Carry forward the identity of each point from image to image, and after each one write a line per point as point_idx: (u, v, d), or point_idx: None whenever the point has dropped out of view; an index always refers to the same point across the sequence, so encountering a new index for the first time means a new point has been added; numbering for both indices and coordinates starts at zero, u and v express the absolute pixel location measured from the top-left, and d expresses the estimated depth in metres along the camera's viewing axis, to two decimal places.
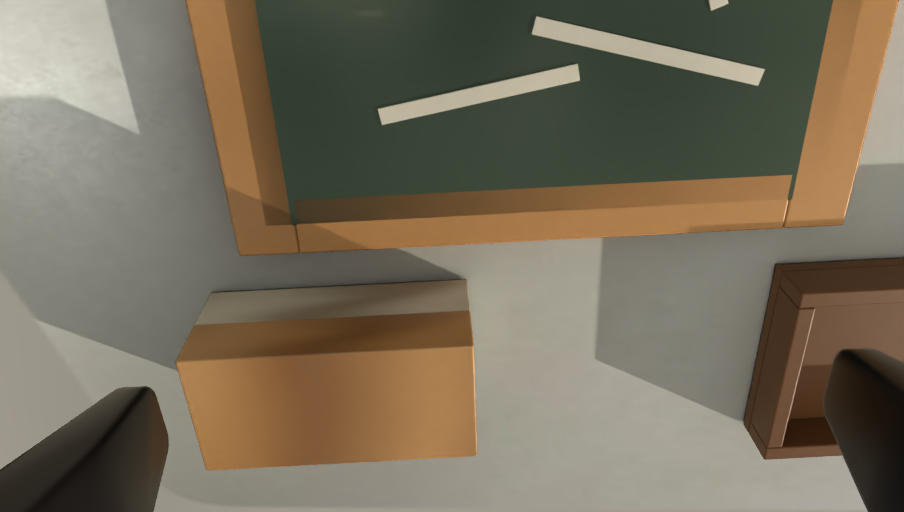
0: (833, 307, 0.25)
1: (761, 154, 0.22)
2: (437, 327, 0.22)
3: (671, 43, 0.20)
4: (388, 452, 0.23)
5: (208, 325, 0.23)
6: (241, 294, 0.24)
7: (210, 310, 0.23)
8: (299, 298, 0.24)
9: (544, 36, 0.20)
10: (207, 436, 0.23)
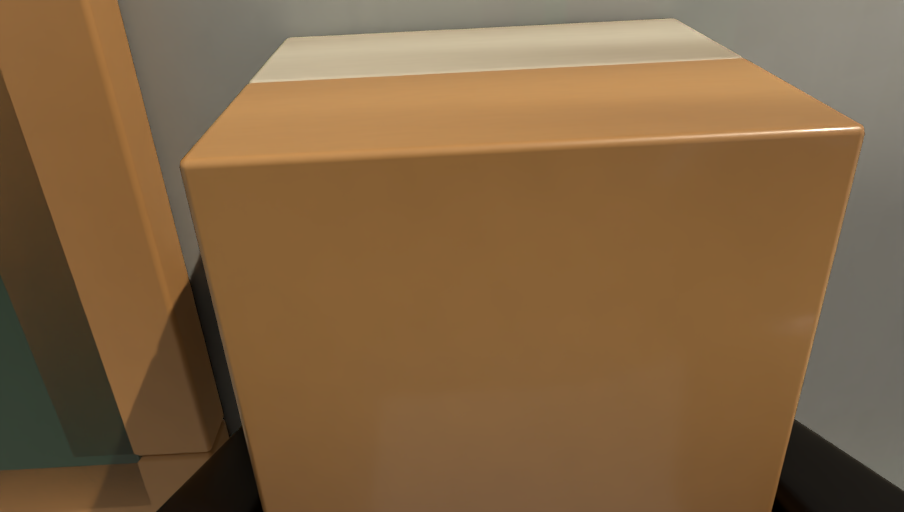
0: None
1: None
2: None
3: None
4: (739, 462, 0.06)
5: None
6: None
7: None
8: None
9: None
10: None
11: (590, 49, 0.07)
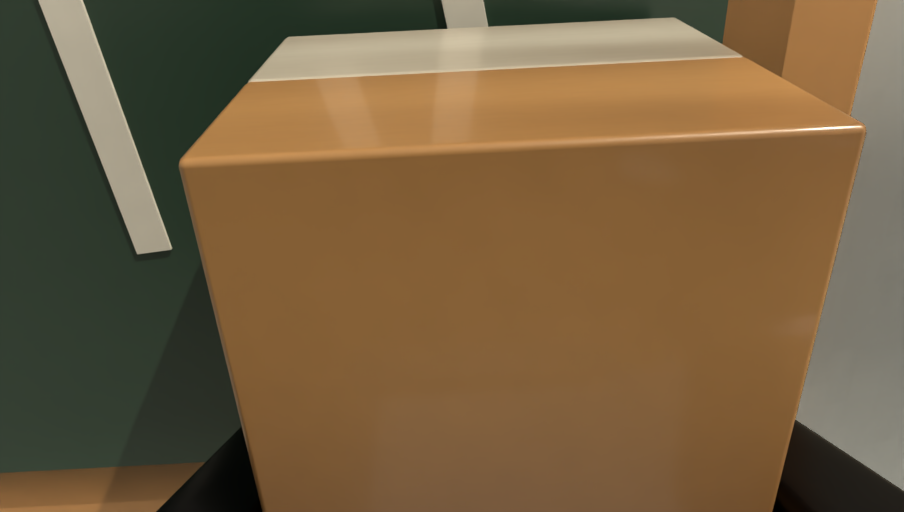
0: None
1: None
2: None
3: None
4: (741, 463, 0.06)
5: None
6: None
7: None
8: None
9: None
10: None
11: (590, 49, 0.07)
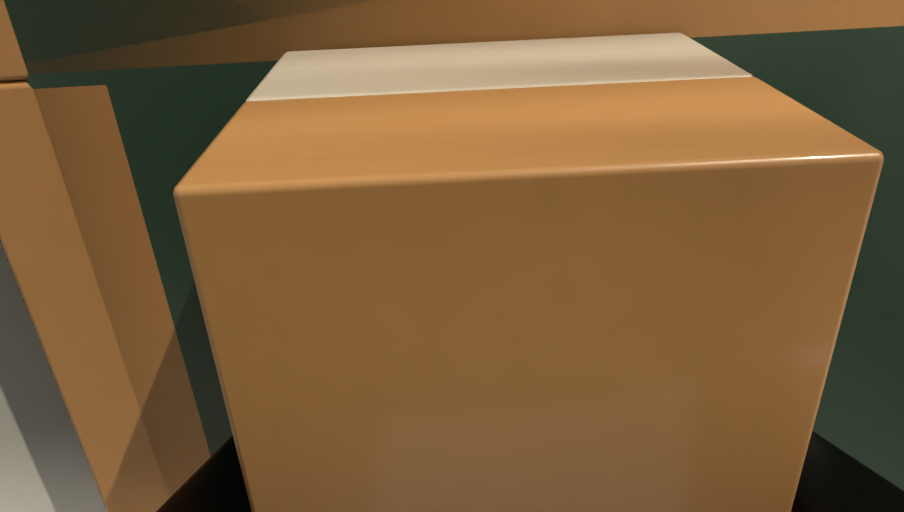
0: None
1: None
2: None
3: None
4: (751, 492, 0.06)
5: None
6: None
7: None
8: None
9: None
10: None
11: (595, 66, 0.07)
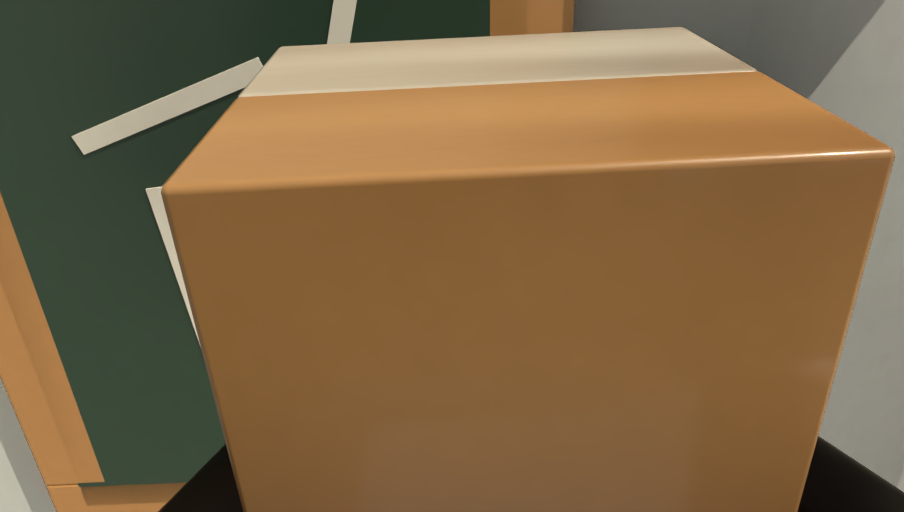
0: None
1: None
2: None
3: None
4: (754, 497, 0.06)
5: None
6: None
7: None
8: None
9: None
10: None
11: (596, 61, 0.06)
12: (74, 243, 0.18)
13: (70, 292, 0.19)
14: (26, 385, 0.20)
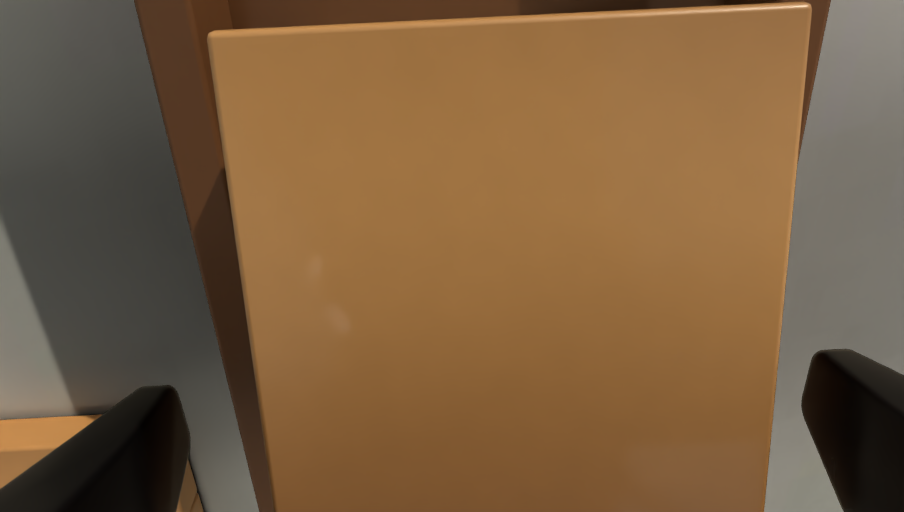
0: None
1: None
2: None
3: None
4: (734, 366, 0.06)
5: None
6: None
7: None
8: None
9: None
10: None
11: None
12: None
13: None
14: None
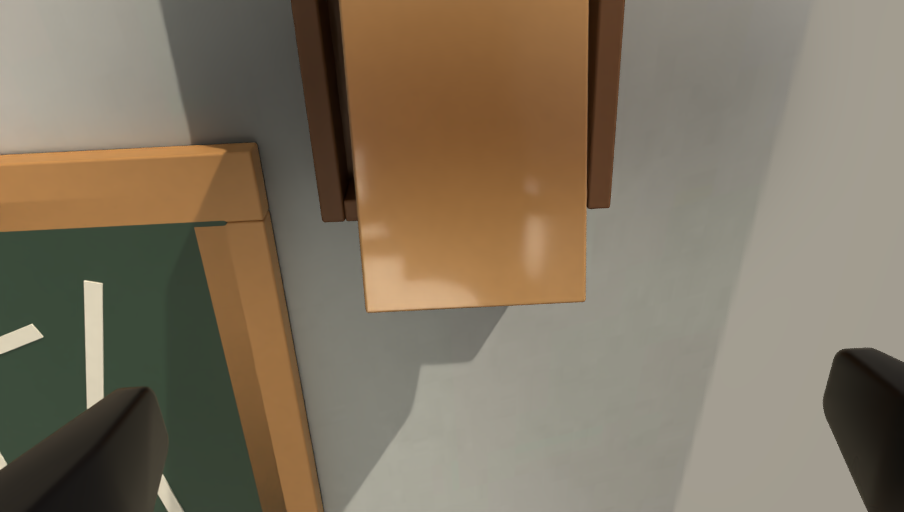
0: None
1: (175, 264, 0.20)
2: None
3: (82, 362, 0.21)
4: None
5: None
6: None
7: None
8: None
9: None
10: (513, 289, 0.14)
11: None
12: None
13: None
14: None
